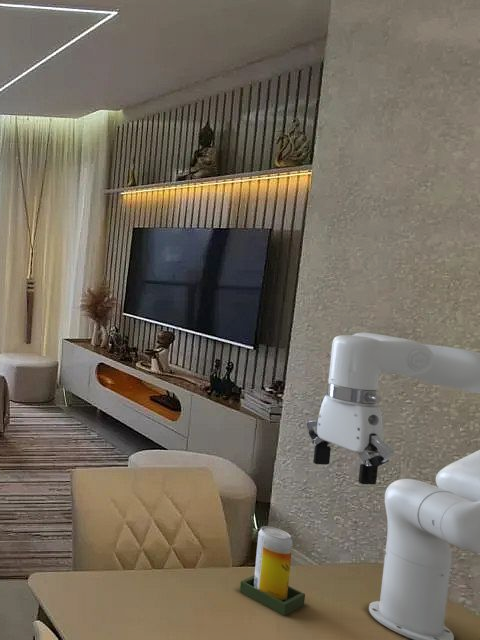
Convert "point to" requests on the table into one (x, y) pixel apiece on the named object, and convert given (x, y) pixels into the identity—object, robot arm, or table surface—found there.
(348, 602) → the table surface
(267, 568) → the beer can
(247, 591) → the can tray
